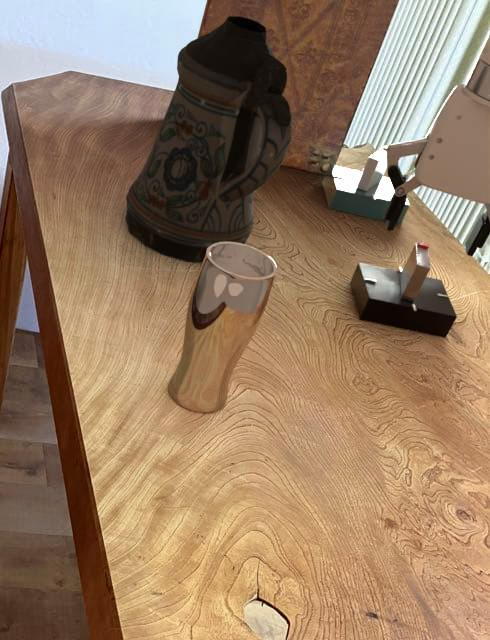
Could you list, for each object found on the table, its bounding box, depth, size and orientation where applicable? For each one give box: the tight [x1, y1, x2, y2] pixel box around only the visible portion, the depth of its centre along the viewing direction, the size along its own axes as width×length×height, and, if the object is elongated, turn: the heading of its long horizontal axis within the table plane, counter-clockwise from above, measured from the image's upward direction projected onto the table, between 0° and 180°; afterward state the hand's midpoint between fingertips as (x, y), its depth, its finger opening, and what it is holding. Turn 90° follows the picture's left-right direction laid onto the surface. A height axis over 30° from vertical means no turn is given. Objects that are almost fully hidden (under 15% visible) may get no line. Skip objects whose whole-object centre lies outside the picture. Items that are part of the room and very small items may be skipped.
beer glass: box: [167, 241, 278, 414], centre depth 85 cm, size 7×7×15 cm
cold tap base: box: [321, 165, 411, 225], centre depth 133 cm, size 11×11×3 cm
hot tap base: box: [349, 262, 458, 339], centre depth 110 cm, size 11×11×3 cm
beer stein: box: [125, 16, 292, 264], centre depth 107 cm, size 16×19×25 cm
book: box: [197, 0, 400, 176], centre depth 131 cm, size 25×9×30 cm, turn 82°
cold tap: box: [357, 145, 389, 191], centre depth 130 cm, size 6×2×5 cm, turn 146°
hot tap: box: [401, 240, 431, 302], centre depth 108 cm, size 6×2×5 cm, turn 165°
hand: (428, 238), depth 105 cm, fingers open, 9 cm apart
